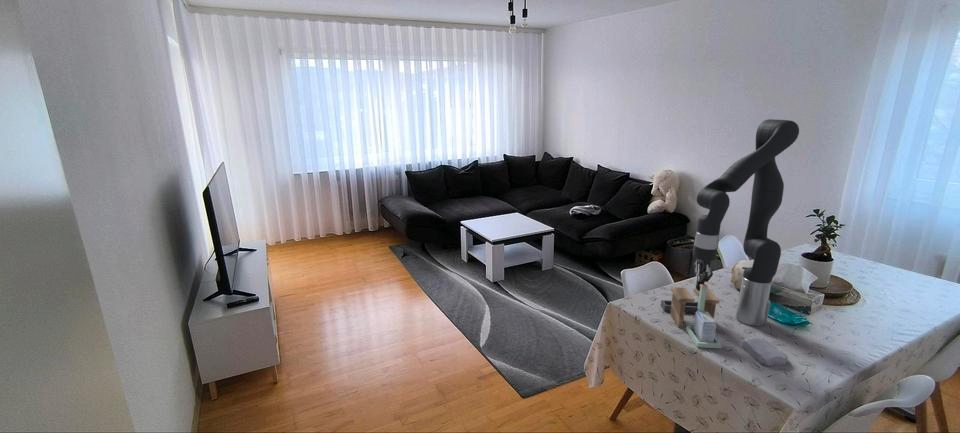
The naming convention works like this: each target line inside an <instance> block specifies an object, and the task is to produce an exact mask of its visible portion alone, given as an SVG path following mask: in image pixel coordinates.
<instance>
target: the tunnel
mask: <svg viewBox="0 0 960 433" xmlns="http://www.w3.org/2000/svg"><path fill="white" fill-rule="evenodd" d="M670 291H671V293H672V297H671V301H672V303H671V311H670V312H669V315H670V317H671V319H672V320H673V322H674V324H675V326H676V327H677V328H679V329H680V328H682V329H683V324H684V318H685V317H684V316H685V313H684V311H685V304H686V302H696V300H695V299H696V298H695V297H693V295H692V294H691V293H690V291H689V290H688V289H687V288H686V287H676V286H675V287H674V286H671V287H670ZM693 293H694V294H695V295H696V296H697V298H699V294H700V291H698V290H697V289H696V287H694V288H693ZM717 304H720V299H719V298H718V297H717V296H716V294H714V293H713V292H712V290H710V289H709V288H708V289H707V292H706V298H705V305H704V312H708V313H709V314H710V315H711V316H712V318H713V319H714V320H715V313H716V307H717Z"/></svg>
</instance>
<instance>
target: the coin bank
mask: <svg viewBox="0 0 960 433" xmlns="http://www.w3.org/2000/svg"><path fill="white" fill-rule="evenodd" d="M753 262H754V260H749V259H748V260H747V259H743V260H742V259H741V260H739V261H738V262H735V265H733V267H731V269H730V273H731V277H730V282H731V283H732V284H733V286H734V288H735V289H737V290H739V291H740V290H741V284H742V278H743V273H744V270H745V269H746V268H750V267H752V266H753Z"/></svg>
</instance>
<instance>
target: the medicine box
mask: <svg viewBox="0 0 960 433" xmlns="http://www.w3.org/2000/svg"><path fill="white" fill-rule="evenodd" d="M693 321H694V322H693V326H694V327H693V331H692V332H693V333H694V335H695V336H696V337H697V339H698V340H699V342H707V343H714V338H715V337H716V330H717V323H718V322H717V321H716V320H715V318H714V319H713V318H712V316H711V315H710V314H709V313H708V312H701V311H698V312H696V313H694V320H693Z"/></svg>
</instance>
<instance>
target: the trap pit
mask: <svg viewBox="0 0 960 433" xmlns="http://www.w3.org/2000/svg"><path fill="white" fill-rule="evenodd" d="M671 303H672V300H667V299H666V300H665V299H662V300H660V307H661V309H662V310H663V312H668V313H670V311H671ZM697 307H698V301H695V302H686V304H685V311H684V314H685V313H687V314H688V313H689V314H695V313H696V312H697Z"/></svg>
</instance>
